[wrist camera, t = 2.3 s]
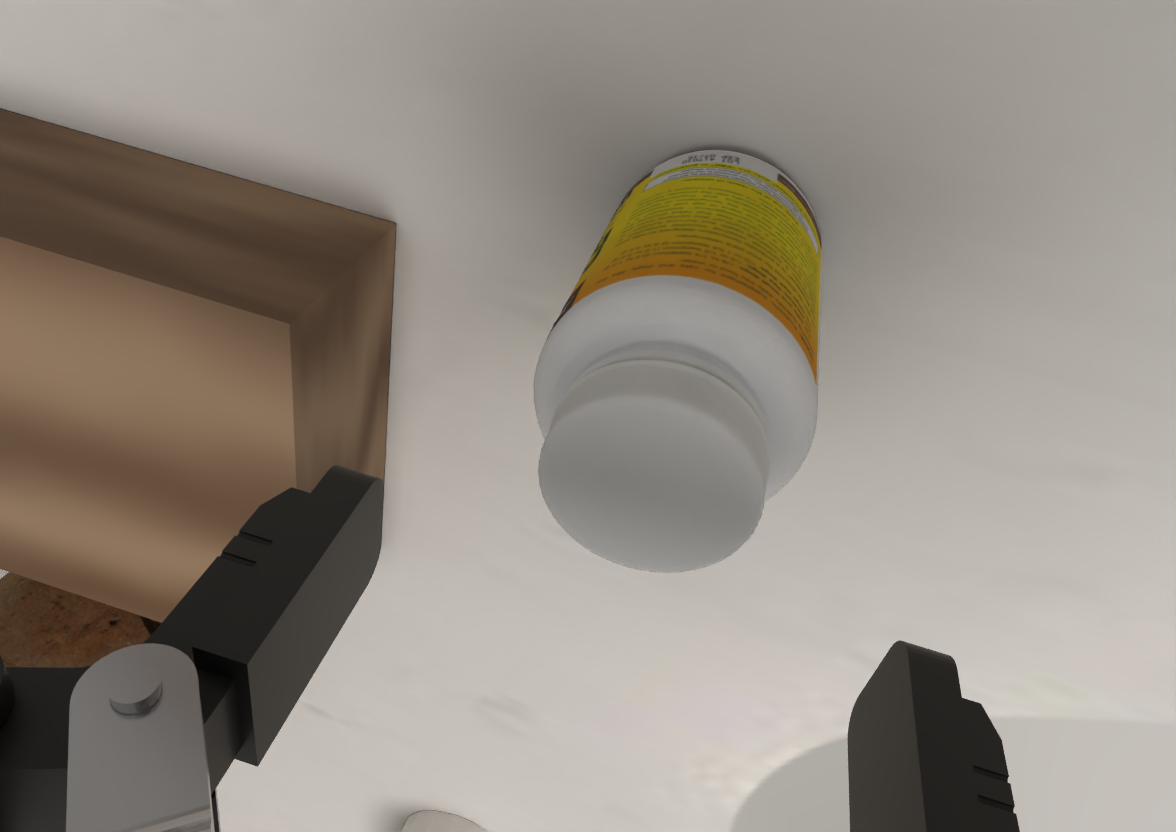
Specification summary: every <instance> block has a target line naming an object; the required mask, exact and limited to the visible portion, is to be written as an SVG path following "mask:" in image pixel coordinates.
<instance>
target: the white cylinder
mask: <svg viewBox="0 0 1176 832" xmlns="http://www.w3.org/2000/svg"><path fill="white" fill-rule="evenodd" d="M401 832H487V831H486V830H484V829H483V828H481V827H480V826H478V825H477V824H475V823H474V822H471V821H469V820H466V819H464V818H462V817H459V816H457V815H454V814H449V813H444V812H439V811H419V812H417V813H415V814H413V815H410V816H409V817H408V819H407V821H406V823H405V825H404V826H403V828H402V830H401Z"/></svg>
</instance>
